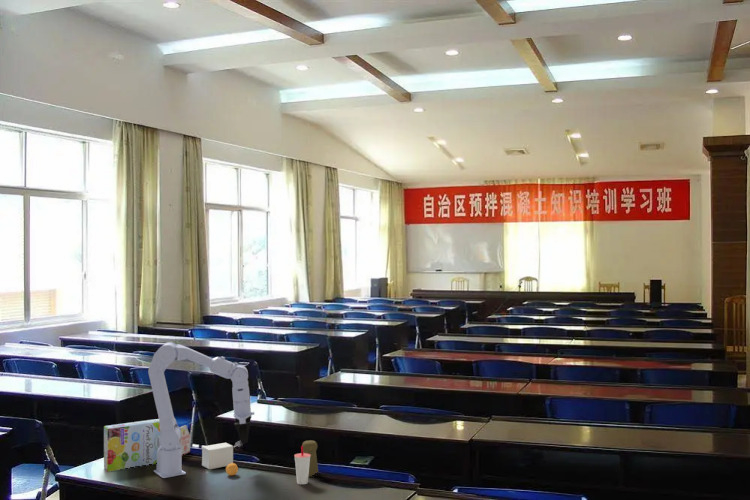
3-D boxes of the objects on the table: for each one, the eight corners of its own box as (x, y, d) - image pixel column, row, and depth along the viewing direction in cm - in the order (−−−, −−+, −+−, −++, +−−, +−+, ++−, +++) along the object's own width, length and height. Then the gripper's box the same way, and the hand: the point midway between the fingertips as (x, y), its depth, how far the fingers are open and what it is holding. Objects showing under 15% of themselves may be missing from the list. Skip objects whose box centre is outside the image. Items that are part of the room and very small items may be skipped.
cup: (295, 486, 219) (295, 448, 220) (292, 481, 225) (293, 444, 225) (312, 484, 221) (312, 447, 221) (309, 479, 226) (309, 443, 226)
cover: (202, 465, 242) (202, 446, 242) (225, 460, 248) (225, 442, 248) (208, 469, 237) (209, 450, 237) (232, 464, 243) (233, 446, 243)
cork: (315, 476, 229) (315, 443, 229) (298, 475, 230) (298, 442, 230) (320, 471, 235) (320, 439, 235) (303, 470, 236) (303, 438, 236)
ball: (223, 475, 231) (223, 463, 231) (234, 472, 233) (234, 461, 234) (228, 477, 228) (229, 465, 228) (240, 475, 230) (240, 463, 230)
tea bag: (171, 455, 254) (171, 428, 255) (181, 451, 261) (181, 424, 261) (179, 456, 253) (180, 429, 254) (190, 451, 260) (190, 425, 260)
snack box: (164, 458, 251) (164, 417, 251) (168, 462, 246) (169, 420, 246) (103, 468, 239) (103, 425, 239) (107, 472, 234) (107, 428, 234)
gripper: (253, 403, 230) (256, 443, 230) (253, 395, 245) (256, 433, 245) (231, 406, 229) (235, 446, 229) (233, 397, 243) (236, 435, 243)
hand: (244, 440), depth 237 cm, fingers open, 7 cm apart
